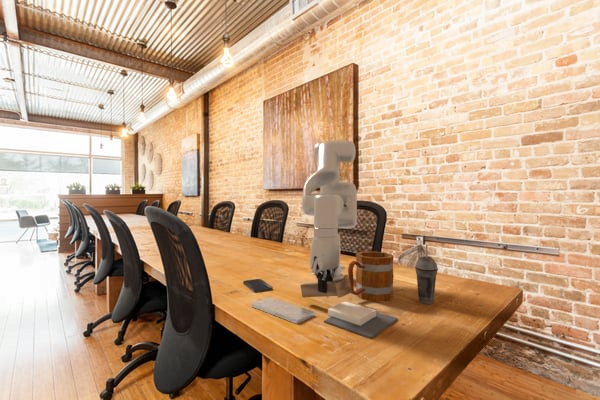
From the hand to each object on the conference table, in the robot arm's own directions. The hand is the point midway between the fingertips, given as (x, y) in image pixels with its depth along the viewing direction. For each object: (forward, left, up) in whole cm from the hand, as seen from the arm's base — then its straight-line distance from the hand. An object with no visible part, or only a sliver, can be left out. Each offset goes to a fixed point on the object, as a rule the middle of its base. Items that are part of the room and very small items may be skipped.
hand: (325, 290), depth 95 cm
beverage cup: (-29, +22, -6) cm, 37 cm away
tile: (0, +4, -5) cm, 6 cm away
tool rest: (+10, -9, -6) cm, 15 cm away
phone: (-2, -35, -7) cm, 36 cm away
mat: (0, +13, -6) cm, 14 cm away
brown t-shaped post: (0, 0, -2) cm, 2 cm away
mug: (-20, +5, -6) cm, 21 cm away
